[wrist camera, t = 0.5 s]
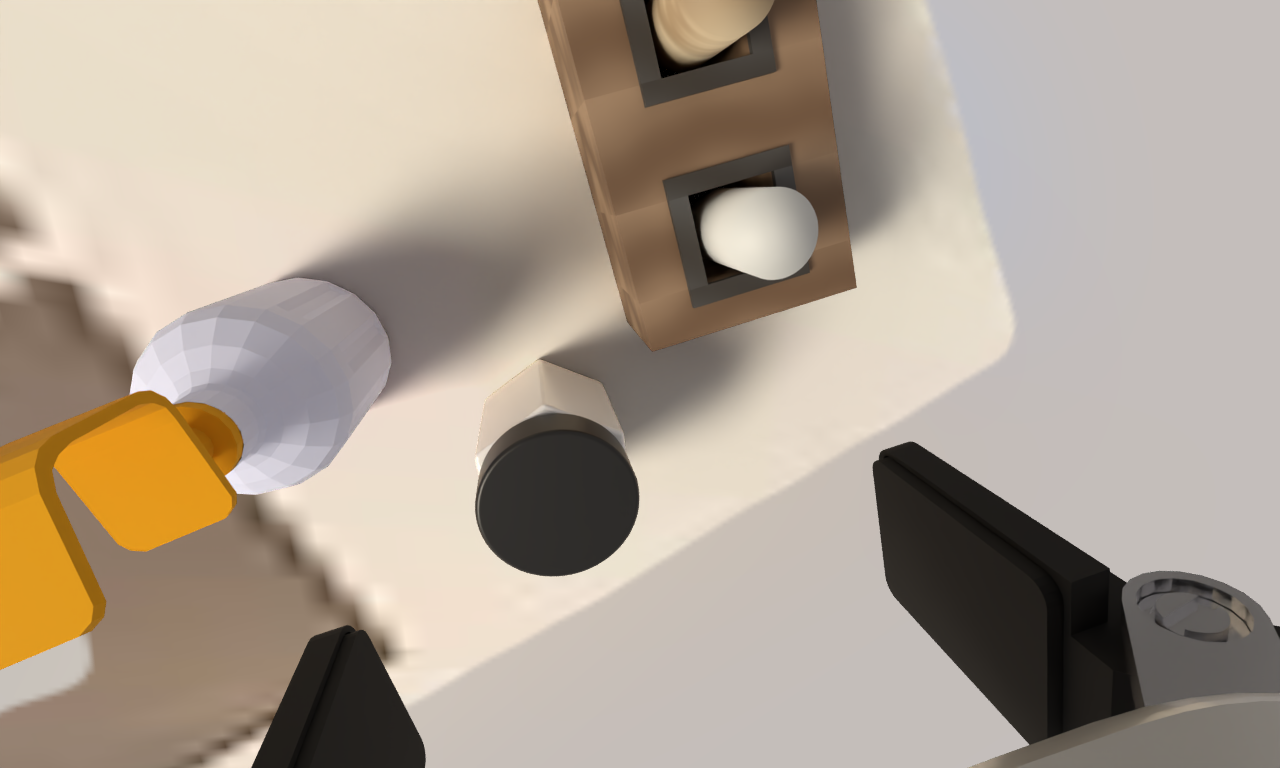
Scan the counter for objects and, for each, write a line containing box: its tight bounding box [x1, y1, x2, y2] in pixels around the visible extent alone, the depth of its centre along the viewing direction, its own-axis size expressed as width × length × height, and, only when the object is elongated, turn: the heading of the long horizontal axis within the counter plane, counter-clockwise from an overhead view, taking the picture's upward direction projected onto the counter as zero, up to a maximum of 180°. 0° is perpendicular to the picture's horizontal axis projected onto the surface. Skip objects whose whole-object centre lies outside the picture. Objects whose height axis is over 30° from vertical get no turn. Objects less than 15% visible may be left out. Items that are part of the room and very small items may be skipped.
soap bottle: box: [0, 277, 392, 670], centre depth 25 cm, size 9×9×25 cm
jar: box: [475, 359, 639, 576], centre depth 35 cm, size 9×8×12 cm
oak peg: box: [645, 0, 774, 73], centre depth 27 cm, size 4×4×8 cm
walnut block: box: [538, 0, 857, 352], centre depth 33 cm, size 20×12×8 cm, turn 15°
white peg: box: [691, 187, 818, 280], centre depth 30 cm, size 4×4×8 cm
